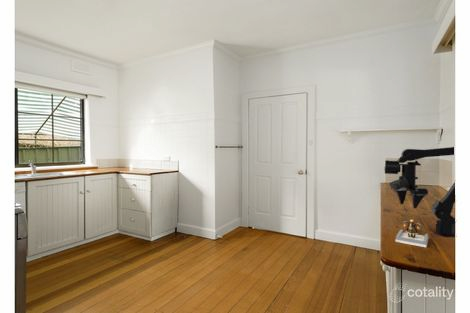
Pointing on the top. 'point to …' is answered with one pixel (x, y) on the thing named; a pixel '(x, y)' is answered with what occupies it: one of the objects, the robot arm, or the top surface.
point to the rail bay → (412, 239)
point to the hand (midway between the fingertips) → (408, 206)
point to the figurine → (411, 228)
